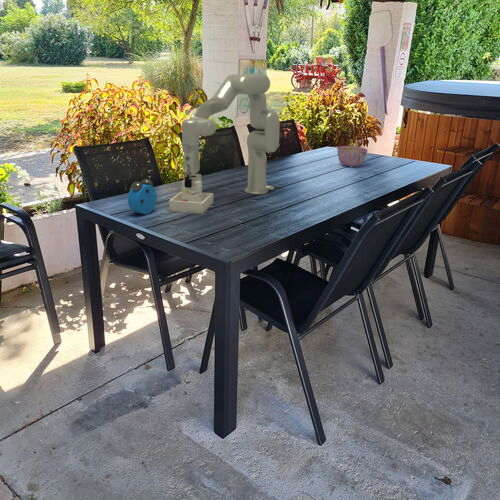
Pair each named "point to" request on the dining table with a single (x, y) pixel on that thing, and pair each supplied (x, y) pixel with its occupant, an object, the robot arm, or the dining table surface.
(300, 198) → the dining table surface
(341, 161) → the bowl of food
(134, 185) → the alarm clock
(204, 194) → the cream square tray
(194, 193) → the ink cartridge box
